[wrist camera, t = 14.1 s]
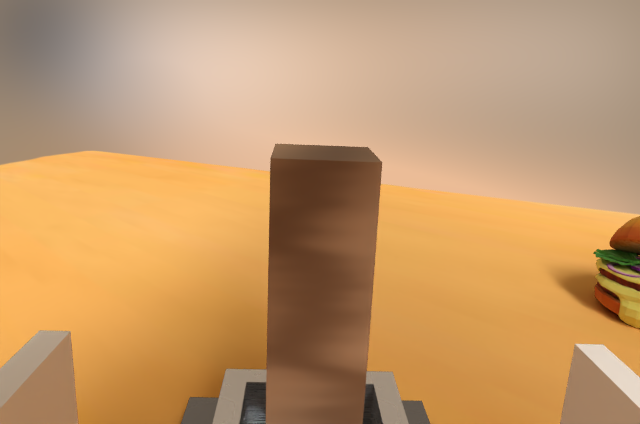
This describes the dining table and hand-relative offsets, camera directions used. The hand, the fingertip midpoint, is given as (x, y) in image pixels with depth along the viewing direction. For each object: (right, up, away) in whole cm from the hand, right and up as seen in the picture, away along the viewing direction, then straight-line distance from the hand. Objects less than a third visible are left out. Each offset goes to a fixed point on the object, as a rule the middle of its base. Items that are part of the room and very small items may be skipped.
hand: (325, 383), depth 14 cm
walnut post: (-1, -9, +11) cm, 14 cm away
